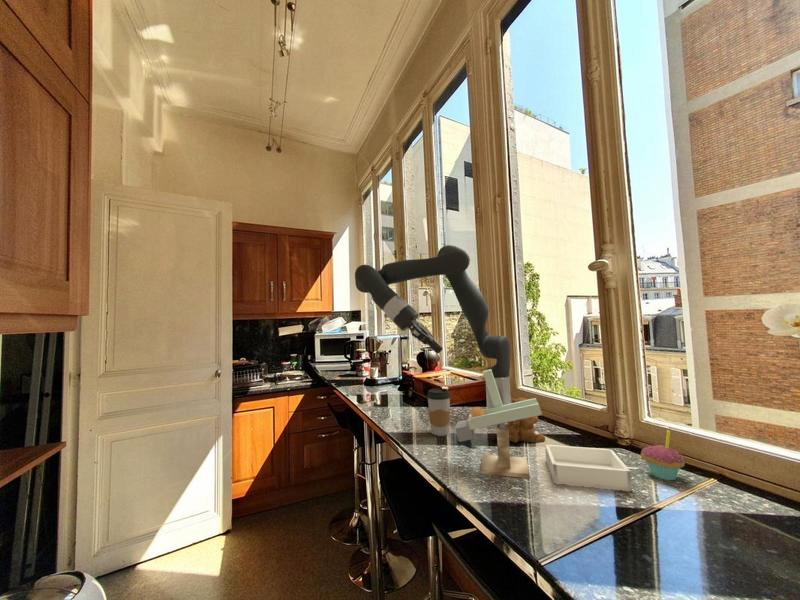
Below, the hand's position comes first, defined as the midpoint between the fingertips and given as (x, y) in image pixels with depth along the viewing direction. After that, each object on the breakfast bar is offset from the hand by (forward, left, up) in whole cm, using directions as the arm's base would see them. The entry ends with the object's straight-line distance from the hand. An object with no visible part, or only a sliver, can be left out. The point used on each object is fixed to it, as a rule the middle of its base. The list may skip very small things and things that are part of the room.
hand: (440, 351), depth 99 cm
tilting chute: (-5, +16, -21) cm, 27 cm away
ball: (-2, +11, -17) cm, 20 cm away
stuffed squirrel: (-27, +10, -31) cm, 43 cm away
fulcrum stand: (-5, +17, -31) cm, 36 cm away
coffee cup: (-14, -13, -31) cm, 36 cm away
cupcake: (-27, +48, -31) cm, 63 cm away
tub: (-15, +34, -31) cm, 48 cm away
